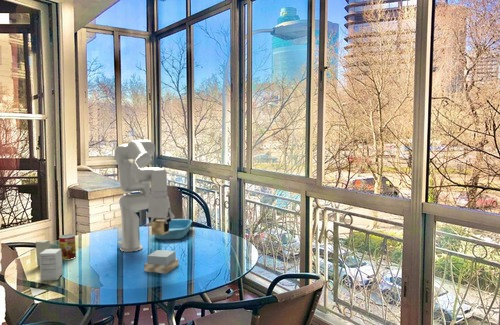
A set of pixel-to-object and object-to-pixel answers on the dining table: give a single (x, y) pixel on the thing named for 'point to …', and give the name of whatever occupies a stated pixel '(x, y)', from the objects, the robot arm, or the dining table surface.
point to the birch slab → (161, 267)
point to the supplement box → (51, 264)
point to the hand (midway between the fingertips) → (160, 230)
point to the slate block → (161, 257)
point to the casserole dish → (176, 229)
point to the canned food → (67, 246)
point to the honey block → (158, 227)
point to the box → (41, 248)
